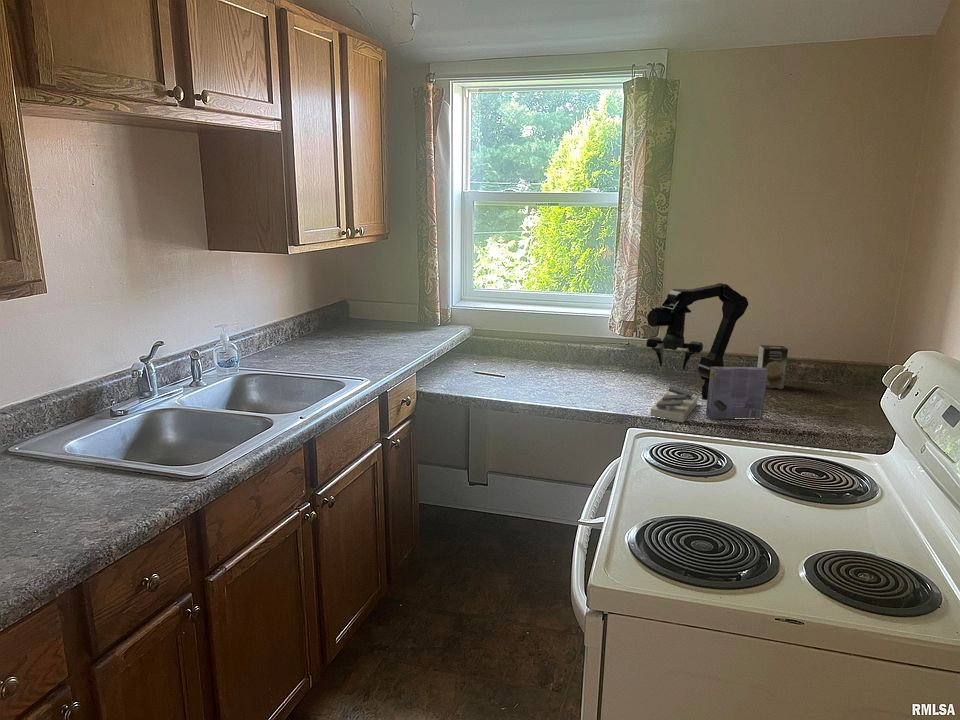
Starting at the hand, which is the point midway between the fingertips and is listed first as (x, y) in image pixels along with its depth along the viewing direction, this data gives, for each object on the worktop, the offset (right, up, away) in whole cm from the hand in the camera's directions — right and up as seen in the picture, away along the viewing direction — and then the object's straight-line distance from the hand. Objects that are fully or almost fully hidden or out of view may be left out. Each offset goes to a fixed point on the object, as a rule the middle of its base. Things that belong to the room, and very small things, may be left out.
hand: (672, 368), depth 246 cm
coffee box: (+45, -8, +25) cm, 52 cm away
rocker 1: (-1, -11, -6) cm, 12 cm away
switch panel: (-1, -15, -5) cm, 16 cm away
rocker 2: (-5, -12, -13) cm, 19 cm away
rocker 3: (+3, -9, +1) cm, 10 cm away
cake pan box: (+18, -17, -13) cm, 28 cm away
